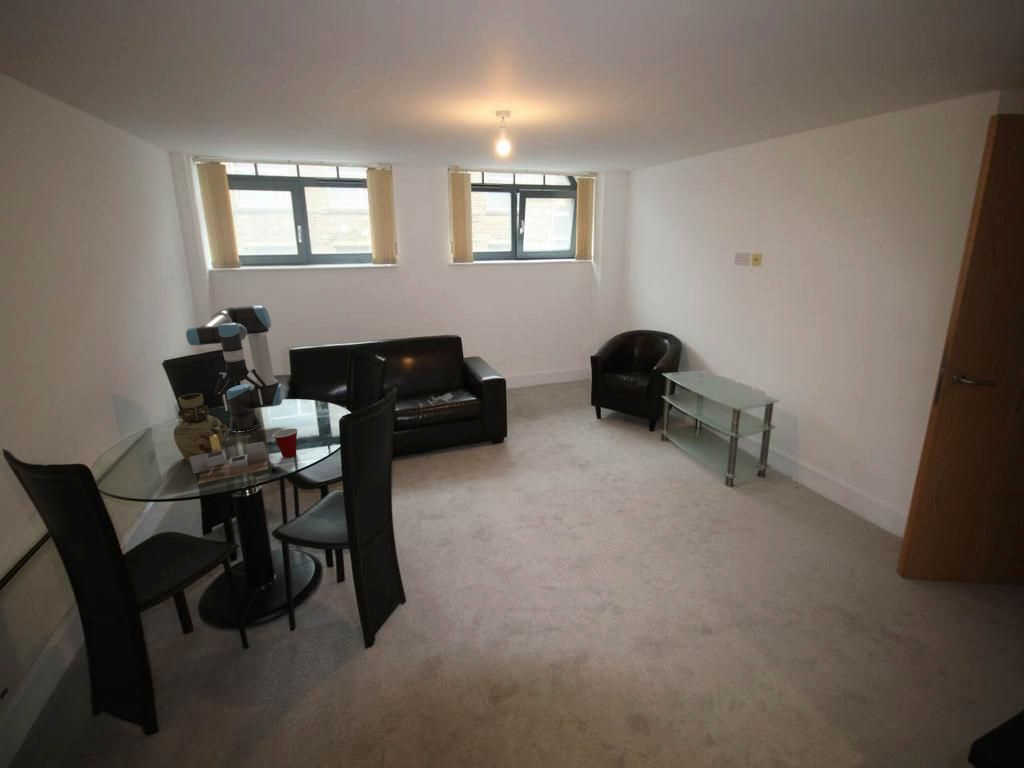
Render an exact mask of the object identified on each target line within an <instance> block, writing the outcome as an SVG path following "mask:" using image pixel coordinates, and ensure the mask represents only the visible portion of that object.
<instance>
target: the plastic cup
mask: <svg viewBox="0 0 1024 768" xmlns="http://www.w3.org/2000/svg"><path fill="white" fill-rule="evenodd" d="M297 435H298V428H293V427H292V428H285V429H282V430H277V431H275V432H274V433H273V434H272V435H271V436H272V437H273V438H274V440H275V442H276V444H277V447H278V449H279V451H280V454H281V456H282V458H284V459H291V458H294V457H295V456H297V442H298V441H297V437H298V436H297Z"/></svg>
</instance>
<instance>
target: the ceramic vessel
mask: <svg viewBox="0 0 1024 768" xmlns="http://www.w3.org/2000/svg"><path fill="white" fill-rule="evenodd" d="M177 399H178V402H179V405H180V407H181V409H180V410H178V413H177V415H178V417H179V419H181V421H180V422H179V423H178V424H177V425H176V426H175V428H174V429H173V438H174V439H173V440H174V442H175V445H176V447H177V448H178V450H179V452H180V453H181V455H182V457H183V458H184V459H185V461H186V462H187V463H188V464H190V465H191V461H190V456H195V455H200V454H205V453H210V452H213V450H212V446H211V442H210V438H209V436H211V435H214V434H217V435H218V438H219V443H220V447H221V450H224V446H223V445H224V444H223V442H224V440H225V434H227V435H228V434H229V430H228V425H227V424H222V422H221V420H219V419H218V418H217V417H215V416H213V415H210V414H209V413H210V411H209V406H208V405H204V395H203V394H202V393H199V392H198V393H188V394H184V395H181V396H179V397H178V398H177Z"/></svg>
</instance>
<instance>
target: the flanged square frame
mask: <svg viewBox="0 0 1024 768" xmlns="http://www.w3.org/2000/svg"><path fill="white" fill-rule="evenodd" d="M226 460H227V455H226V451H225V449H223V450H220V451H215V452H210V453H205V454H200V455H195V456H190V461H191V464H190V465H191V468H192V472H193V474H198V473H199V474H200V473H201V472H204V471H209V470H210V468H209V467H210V466H215V465H220V464H225V463H226Z"/></svg>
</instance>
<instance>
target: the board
mask: <svg viewBox="0 0 1024 768" xmlns="http://www.w3.org/2000/svg"><path fill="white" fill-rule="evenodd" d="M266 455H267V456H268V453H267V451H266ZM209 468H210V470H209V471H204V472H200V473H199V477H198V483H197V484H198V485H200V484H204V483H205V484H206V483H210V482H213V481H218V480H223V479H227V478H232V477H237V476H242V475H245V474H246V475H247V474H250V473H251V474H252V473H255V472H260V471H265V470H268V469H269V465H268V458H267V459H265V460H260V461H256V462H251V463H249V468H245V469H241V470H236V471H231V467H230V459H226V463H225V464H224V465H222V466H216V465H215V466H210V467H209Z"/></svg>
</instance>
